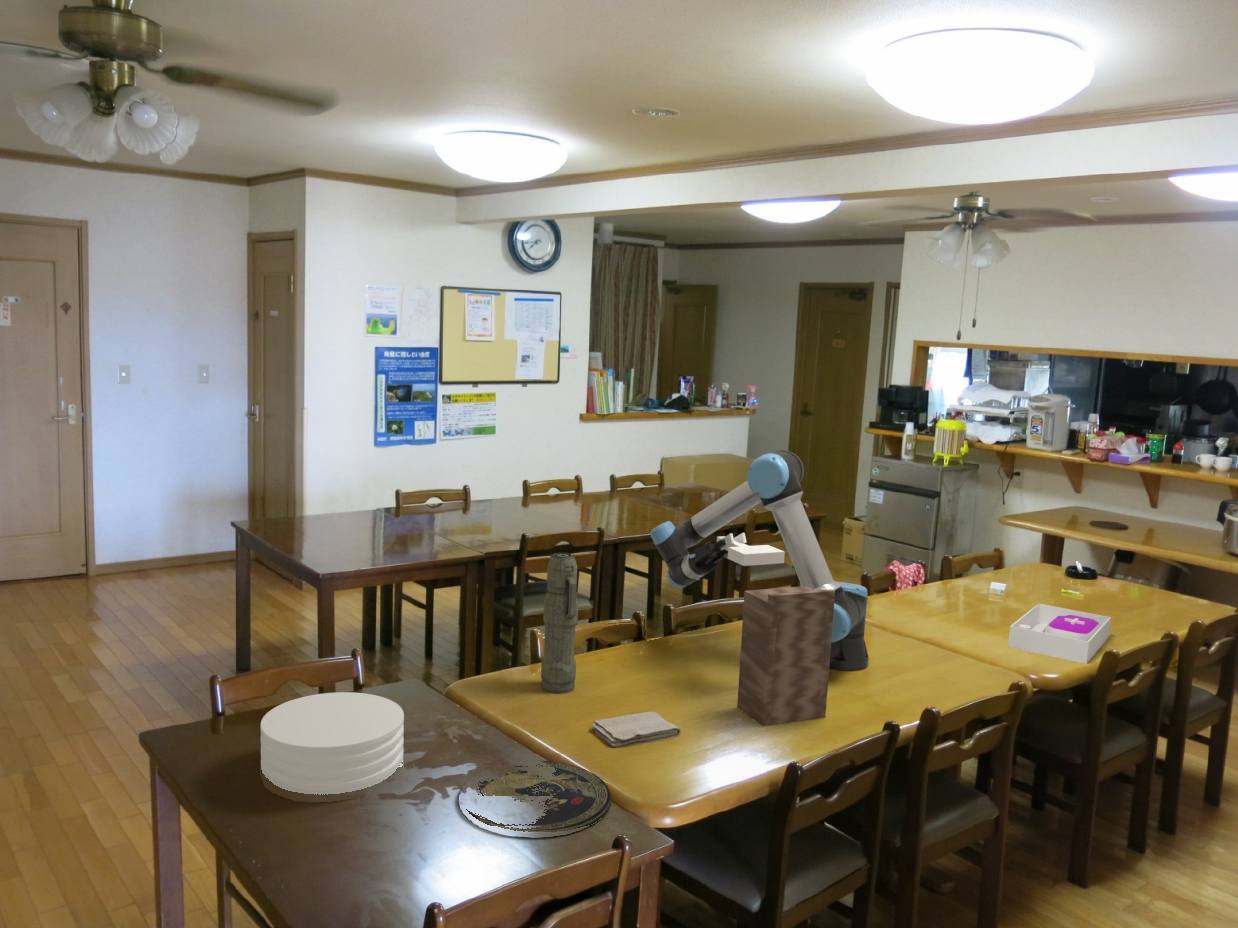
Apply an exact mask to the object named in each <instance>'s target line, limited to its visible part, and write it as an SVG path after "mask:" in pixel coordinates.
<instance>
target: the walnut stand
mask: <svg viewBox="0 0 1238 928" xmlns="http://www.w3.org/2000/svg"><path fill="white" fill-rule="evenodd" d="M834 599H835V591H834V590H832V589H828V590H814V589H811V588H809V587H807V586H802V585H801V586H790V587H789V586H788V587H778V588H777V587H776V588H765V589H751V590H749V589H748V590H744V593H743V611H742V624H741V625H742V627H741V628H742V629H741V643H740V655H739V657H740V658H739V673H738V689H737V702H736V703H737V704H736V708H737V709H738V710H740V711H741V712H742V713H744V714H745V715H747V716H748V717H750V718H751V719H752V720H754V722H756V723H757V724H759V725H760V726H762V727H766V726H773V725H781V724H787V723H794V722H795V723H796V722H802V721H807V720H815V719H817V720H818V719H822V718H826V713H827V702H828V701H827V700H828V689H829V677H830V675H829V674H830V668H829V664H830V651H831V638H832V625H833V612H834Z"/></svg>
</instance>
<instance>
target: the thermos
mask: <svg viewBox="0 0 1238 928" xmlns="http://www.w3.org/2000/svg"><path fill="white" fill-rule="evenodd" d="M546 571H547V573H546V594H545V597H544V600H543V620H542V621H543V624H544V639H543V640H544V641H543V642H544V644H543V647H544V648H543V657H542V660H541V669H540V670H541V671H540V672H541V673H540V679H541V683H540V684H541V685H540V686H541V688H540V689H541V690H542V691H544V692H547V693H550V694H561V695H562V694H567V693H571V692H572V691H574V690H575V689H574V688H576V687H575V683H576V680H577V679H576V677H577V675H576V673H577V661H576V658H575V651H576V650H575V649H576V648H575V646H576V626H577V624H578V622H579V621H578V619H579V600H578V595H577V591H578V590H577V588H578V583H577V582H578V565H577V560H576V557H575V556H574V555H573V554H572V553H568V552H558V553H557V552H556V553H553V554H551V555H550V558H549V560H548V564H547V570H546Z"/></svg>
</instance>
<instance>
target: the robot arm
mask: <svg viewBox="0 0 1238 928" xmlns="http://www.w3.org/2000/svg"><path fill="white" fill-rule="evenodd" d="M804 468H805V467H804V464H803V461H802V460H801V458H800V457H799V456H798V455H797V454H795V453H794V452H792V451H789V450H783V449H782V450H778V451H777V450H776V451H773V452H768V453H765V454H762V455H761V456H758V457H757V458H756V459H754V460H753V461H752V463H751V464H750V465H749V468H748V470H747V473H746V476H747V477H746V479H747V480H746V481H745V482H743V483H741V484H740V485H738V486H736V487H735V488H734V489H732V490H730V491H729V492H727V493H726V494H725V495H723V496H722V497H720V498H719V499H717V500H716V501H714V502H713V503H711V504H710V505H708V506H706V507H705V508H704V509H702V510H700V511H699V512H698V513H696V514H695V515H693V516H692V517H690V518H688V519H687V520H685V521H684V522H682V523H681V524H679V525H676V526H675V525H674V524H673V522H672V521H670V520H667V521H664V522H662V523H661V524H658V525H657V526H655V527H654V528H652V529H651V530H650V533H649V534H650V536H651V539H652V541H653V544H654V546H655V547H656V548H657V550H658V552H659V554H660V556H661V558H662V559H663V561H664V562H665V565H666V567H667V568H668V569H667V571H666V577H667V581H668V583H669V584H670V585H671V586H672V587H674V588H677V589H682V588H685V587H687V586H689V585H691V584H693V583H694V582H696V581H700V578H702V577H704V576H705V575H707V574H709V573H711V572H712V571H713V570H715V568H716V566H717V564H718V563H719V562H720V561H722V560H723V559H724V558H725V559H726V560H730V559H728V551H727V550H725V549H726V548H728V547H729V546H731V545H732V544H734V540H737V541H739V542H741V543H744V544H747V543H748V542H747V538H746V534H745V532H742V533H740V534H738V535H737V536H734V534H733V533H732V532H731V533H729V534H727V535H726V536H725V535H724V536H725V537H724V538H722V539H721V540H719V541H718V542H717V540H716V541H713V543H712V542H710V541H709V542H707V543H706V544H704V545H702V546H699V547H698V548H696V549H694V550H693V551H688V549H689V548H692V547H695V546H697V545H698V544H700V542H701V541H703V540H704V539H705V538H708V536H711V535H712V534H713V533H715V532H716V531H718V530H719V529H721V528H723V527H725V526H726V525H728V524H729V523H730V522H732V521H733V520H735V519H737V518H738V517H740V516H741V515H743V514H744V513H746V512H748V511H749V510H751V509H752V508H754V507H755V506H757V505H759V504H760V503H761V504H762V507H763V508H765V509H766V510H769V511H770V512H771V513H772V516H773V518H774V521H775V523H776V526H777V528H778V531H779V534H780V536H781V539H782V540H783V543H784V545H785V548H786V551H787V553H788V555H789V558H790V560H791V562H792V563H791V564H792V565H793V568H794V570H795V573H796V575H797V577H798V581H799V582H800V585H801V586H807V587H809V588H811V589H814V590H828V589H832V590H834V591H835V599H834V612H833V625H832V638H831V651H830V664H829V669H830V668H831V669H835V670H840V671H858V670H859V671H860V670H863V669H866V668H867V667H868V666H869V659H870V658H869V654H868V650H867V645H866V644H867V643H866V642H865V630H866V619H867V618H866V617H867V608H868V600H869V597H868V588H866V587H865V586H863V585H861V584H856V583H850V582H842V581H835V580H834V579H833V578H834V577H833V576H832V573H831V571H830V568H829V566H828V564H827V563H828V562H826V559H825V556H824V553H823V552H822V549H821V547H820V544H819V541H818V539H817V536H816V534H815V532H814V529H813V527H812V524H811V522H810V519H809V517H808V515H807V513H806V510H805V508H804V504H803V503H802V501H801V500H802V496H803V494H804V491H803V488H802V485H801V482H802V480H803V477H804V471H805V469H804ZM730 561H731V560H730Z"/></svg>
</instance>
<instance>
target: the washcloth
mask: <svg viewBox="0 0 1238 928" xmlns="http://www.w3.org/2000/svg"><path fill="white" fill-rule="evenodd" d="M591 729H592V730H593V731H594V733H595V734H596V735H597V736H598V737H599V738H601V739H602V740H603V741H604V742H606V744H608V745H609V746H611V747H613V748H617V747H618V748H619V747H621V748H623V747H627V746H630V747H631V746H635V745H639V744H645V743H652V742H655V741H662V740H666V739H671V738H676V737H678V736H680V734H681V732H682V730H681V728H679V726H677V725H675V724H673V723H672V722H670V721H667V720H666V719H665V718H664V717H663V716H661V715H660V714H659V713H657V712H655V711H645V712H641V713H632V714H626V715H620V716H614V717H611V718H610V717H609V718H601V719H597V720H593V722H592V728H591Z"/></svg>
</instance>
